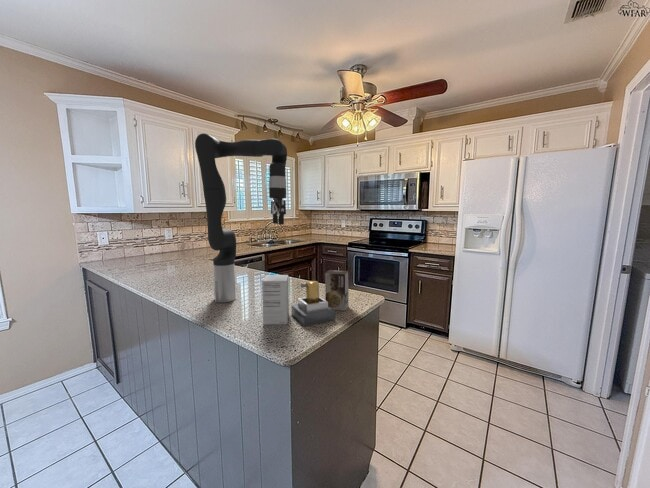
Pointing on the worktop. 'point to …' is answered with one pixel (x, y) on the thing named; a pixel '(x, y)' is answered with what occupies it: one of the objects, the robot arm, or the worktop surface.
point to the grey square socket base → (312, 312)
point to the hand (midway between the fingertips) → (278, 224)
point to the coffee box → (337, 289)
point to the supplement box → (275, 299)
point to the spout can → (311, 291)
